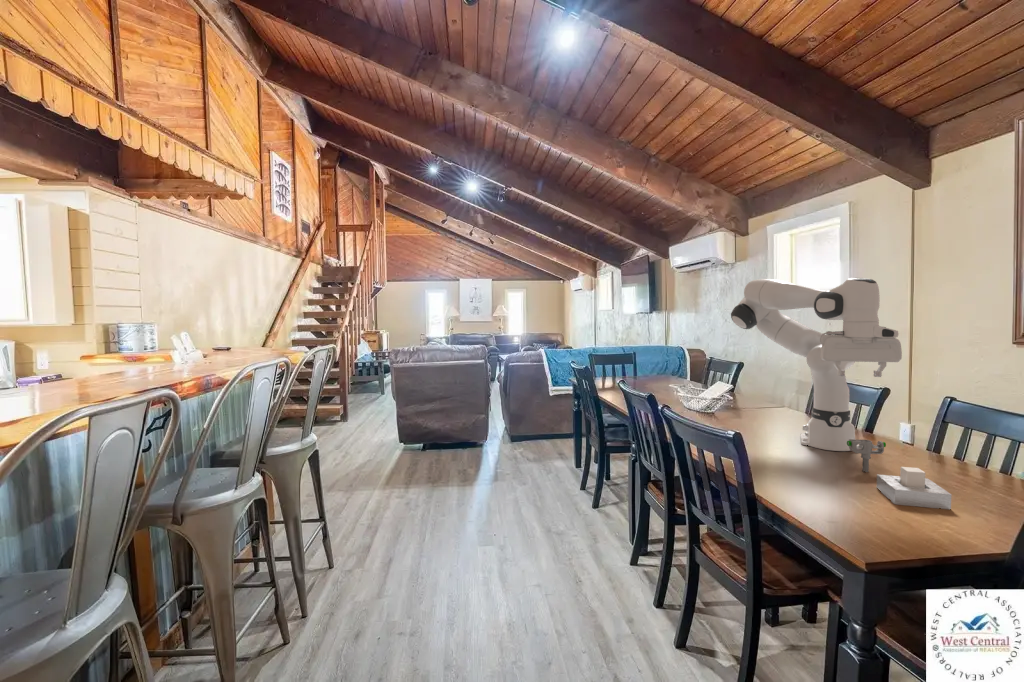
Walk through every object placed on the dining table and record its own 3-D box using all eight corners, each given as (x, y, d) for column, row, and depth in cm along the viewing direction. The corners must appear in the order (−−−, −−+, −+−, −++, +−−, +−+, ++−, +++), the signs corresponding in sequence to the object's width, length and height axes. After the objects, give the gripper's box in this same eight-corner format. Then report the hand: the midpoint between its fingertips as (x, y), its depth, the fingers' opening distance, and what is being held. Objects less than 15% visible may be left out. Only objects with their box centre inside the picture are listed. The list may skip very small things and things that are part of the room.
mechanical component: (886, 474, 149) (887, 442, 148) (849, 472, 151) (850, 441, 150) (880, 471, 152) (881, 440, 151) (844, 469, 154) (845, 439, 153)
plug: (899, 494, 133) (900, 466, 132) (917, 496, 131) (918, 468, 131) (906, 500, 129) (907, 471, 128) (924, 502, 128) (925, 472, 127)
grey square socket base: (876, 488, 138) (876, 474, 137) (927, 492, 134) (928, 478, 134) (894, 504, 126) (895, 489, 126) (950, 509, 122) (951, 494, 122)
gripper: (823, 331, 145) (822, 376, 146) (905, 331, 139) (903, 378, 140) (817, 330, 151) (816, 374, 152) (895, 330, 145) (894, 375, 145)
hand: (859, 376), depth 146 cm, fingers open, 8 cm apart
